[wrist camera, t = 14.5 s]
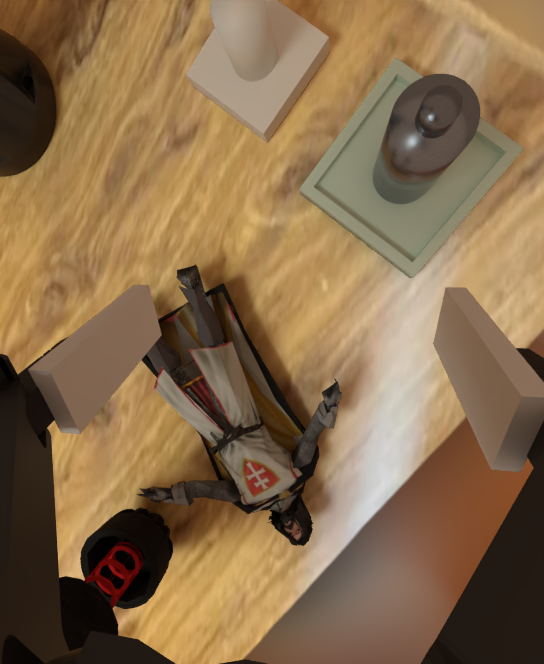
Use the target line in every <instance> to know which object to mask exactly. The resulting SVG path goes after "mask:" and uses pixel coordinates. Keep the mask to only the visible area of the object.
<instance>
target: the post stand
mask: <svg viewBox="0 0 544 664" xmlns="http://www.w3.org/2000/svg"><path fill="white" fill-rule="evenodd" d="M210 13H211V17H212V20H213V23H214V25H215V28H214V30H213V31H212V33H211V35H210V36H209V38H208V40H207V41H206V43H205V44H204V46H203V48H202V49H201V51H200V53H199V54H198V56H197V58H196V59H195V61H194V63H193V64H192V66H191V68H190V69H189V71H188V73H187V74H186V76H187V77H188V79H189V80H190V82H191V83H192V85H193V86H194V87H195V88H196V89H197V90H199V91H200V92H201V93H203V94H204V95H205V96H207V97H208V98H209V99H211V100H212V101H213V102H215V103H216V104H217V105H218V106H220V107H221V108H222V109H224V110H225V111H226V112H228V113H229V114H230V115H232V116H233V117H234V118H236V119H237V120H238V121H240V122H241V123H242V124H243V125H245V126H246V127H247V128H249V129H250V130H251V131H253V132H254V133H255V134H257V135H258V136H259V137H261V138H262V139H263V140H264V141H266V142H267V143H268V141H269V140H270V138H271V137H272V135H273V134H274V133H275V131H276V130H277V128H278V127H279V125H280V124H281V122H282V121H283V119H284V118H285V117H286V115H287V114H288V112H289V111H290V109H291V108H292V106H293V105H294V103H295V102H296V101H297V99H298V98H299V96H300V95H301V93H302V92H303V90H304V89H305V87H306V86H307V85H308V83H309V82H310V80H311V79H312V77H313V76H314V74H315V73H316V71H317V70H318V69H319V67H320V66H321V64H322V63H323V61H324V60H325V58H326V57H327V55H328V54H329V53H330V48H329V37H328V36H327V35H326V34H324V33H323V32H321V31H320V30H319V29H317V28H316V27H314V26H313V25H312V24H310V23H309V22H307V21H306V20H305V19H303V18H302V17H300V16H299V15H298V14H296V13H295V12H294V11H292V10H291V9H289V8H288V7H287V6H285V5H284V4H282V3H281V2H280V1H278V0H211V3H210Z"/></svg>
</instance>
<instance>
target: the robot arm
mask: <svg viewBox="0 0 544 664" xmlns="http://www.w3.org/2000/svg"><path fill="white" fill-rule="evenodd" d="M55 114H56V104H55V95H54V89H53V85H52V82H51V79H50V77H49V74H48V72H47V70H46V68H45V67H44V65H43V63H42V62H41V61H40V59H39V58H38V57H37V56H36V55H35V54H34V53H33V52H32V51H31V50H30V49H28V48H27V47H26V46H25V45H23V44H22V43H21V42H20V41H18V40H17V39H16V38H15V37H13V36H12V35H10V34H9V33H7V32H5V31H4V30H2V29H0V176H11V175H15V174H18V173H20V172H22V171H24V170H26V169H27V168H29V167H30V166H31V165H33V164H34V163H35V162H36V161H37V160H38V158H39V157H40V156H41V155H42V153H43V152H44V150H45V148H46V147H47V145H48V143H49V140H50V138H51V135H52V131H53V128H54V123H55ZM161 335H162V334H161V330H160V326H159V323H158V319H157V315H156V311H155V307H154V303H153V300H152V296H151V292H150V288H149V285H133V286H132V287H131V288H129V289H128V290H127V291H126V292H124V293H123V294H122V295H121V296H119V297H118V298H117V299H116V300H114V301H113V302H112V303H111V304H109V305H108V306H107V307H106V308H104V309H103V310H102V311H101V312H99V313H98V314H97V315H96V316H94V317H93V318H92V319H91V320H89V321H88V322H87V323H86V324H84V325H83V326H82V327H81V328H79V329H78V330H77V331H76V332H74V333H73V334H72V335H71V336H69V337H67V338H65V339H63V340H61V341H60V342H59V343H57V344H56V345H55V346H54V347H52V348H51V350H48V351H47V352H46V353H45V354H43V356H41V357H40V358H38V359H37V360H36V361H35V362H33V363H32V364H31V365H29V366H28V367H27V368H26V369H24V370H23V371H22V372H21V373H19V374H17V373H16V371H15V369H14V367H13V365H12V364H11V362H10V360H9V358H8V356H6V355H3V354H0V664H175V663H174V662H172V661H171V660H169V659H167V658H166V657H164V656H163V655H161V654H160V653H158V652H157V651H155V650H154V649H152V648H151V647H149V646H147V645H146V644H144V643H143V642H141V641H140V640H138V639H133V638H128V637H123V636H117V635H112V634H107V633H101V632H96V631H90V633H89V635H88V637H87V639H86V641H85V643H84V645H83V648H79V649H76V650H73V651H70V652H69V649H68V646H67V644H66V641H65V638H64V635H63V630H62V623H61V605H60V587H59V569H58V552H57V534H56V516H55V498H54V480H53V462H52V444H51V434H50V432H49V430H48V429H47V427H48V426H49V425H50V424H51V423H52V422H53V421H54V420H55V422H56V424H57V426H58V428H59V429H60V431H61V432H63V433H74V434H81V433H82V432H83V430H84V429H85V428H86V427H87V426H88V424H89V423H90V422H91V421H92V419H93V418H94V417H95V416H96V415H97V413H98V412H99V411H100V410H101V408H102V407H103V406H104V405H105V404H106V402H107V401H108V400H109V399H110V398H111V396H112V395H113V394H114V393H115V391H116V390H117V389H118V388H119V387H120V385H121V384H122V383H123V382H124V380H125V379H126V378H127V377H128V376H129V374H130V373H131V372H132V371H133V369H134V368H135V367H136V366H137V365H138V363H139V362H140V361H141V360H142V358H143V357H144V356H145V355H146V354H147V352H148V351H149V350H150V349H151V347H152V346H153V345H154V344H155V343H156V341H157V340H158V339H159V338H160V336H161ZM433 344H434V347H435V349H436V351H437V353H438V355H439V357H440V360H441V362H442V364H443V366H444V368H445V370H446V373H447V375H448V377H449V379H450V381H451V384H452V386H453V388H454V390H455V392H456V394H457V397H458V399H459V401H460V403H461V405H462V407H463V410H464V412H465V414H466V416H467V418H468V420H469V423H470V425H471V427H472V429H473V431H474V433H475V436H476V438H477V440H478V442H479V444H480V446H481V449H482V451H483V453H484V455H485V457H486V460H487V462H488V464H489V466H490V468H491V469H492V470H504V471H515V472H521V470H522V468H523V466H524V464H525V462H526V460H527V458H528V459H529V460H530V462H531V464H532V465H533V467H534V469H533V470H532V472H531V474H530V476H529V477H528V479H527V481H526V483H525V484H524V486H523V488H522V490H521V491H520V493H519V495H518V497H517V499H516V500H515V502H514V504H513V505H512V507H511V509H510V511H509V513H508V514H507V516H506V518H505V520H504V521H503V523H502V525H501V526H500V528H499V530H498V532H497V534H496V535H495V537H494V539H493V541H492V542H491V544H490V546H489V547H488V549H487V551H486V553H485V555H484V556H483V558H482V560H481V561H480V563H479V565H478V567H477V568H476V570H475V572H474V574H473V575H472V577H471V579H470V581H469V583H468V584H467V586H466V588H465V590H464V591H463V593H462V595H461V597H460V598H459V600H458V602H457V604H456V606H455V607H454V609H453V611H452V612H451V614H450V616H449V618H448V619H447V621H446V623H445V625H444V626H443V628H442V630H441V632H440V633H439V635H438V637H437V639H436V640H435V642H434V643H433V645H432V646H431V647H430V649H429V651H428V652H427V654H426V655H425V658H424V659H423V661H422V663H421V664H544V358H543V357H541V356H539V355H538V354H536V353H535V352H533V351H531V350H530V349H524V348H515V347H514V346H513V344H512V343H511V342H510V341H509V340H508V338H507V337H506V336H505V335H504V333H503V332H502V331H501V330H500V329H499V327H498V326H497V325H496V324H495V323H494V321H493V320H492V319H491V318H490V316H489V315H488V314H487V313H486V312H485V310H484V309H483V308H482V307H481V306H480V304H479V303H478V302H477V301H476V299H475V298H474V297H473V296H472V295H471V293H470V292H469V291H468V290H467V288H446V289H445V293H444V298H443V302H442V307H441V311H440V316H439V320H438V325H437V329H436V334H435V338H434V343H433ZM221 664H266V663H261V662H256V661H250V660H239V661H233V662H227V663H221Z"/></svg>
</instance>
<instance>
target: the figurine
mask: <svg viewBox="0 0 544 664" xmlns="http://www.w3.org/2000/svg"><path fill="white" fill-rule="evenodd" d="M177 278H178V279H179V280H180V281H181V283H182V284H183V285H185V286H186V287H187V288H188V289H186V288H183V287H180V286H179V287H180V289H181V291H182V292H183V294H184V295H185V297H186V298H187V300H188V301H189V302H188V303H186V304H184V305H183V306H181V307H179V308H178V309H176V310H174V311H172V312H171V313H169V314H167V315H165V316H164V317H162V318H160V319H158V323H159V326H160V330H161V334H162V335H161V336H160V338H159V339H158V340H157V341H156V343H155V344H154V345H153V346H152V347H151V349H150V350H149V351H148V352H147V354H146V355H145V356H144V357H143V358H142V361H143V362H144V363H145V364H146V366H147V367H148V368H149V369H150V370H151V371H152V372H153V374H154V375H155V376H156V377H157V380H156V383H155V386H154V389H155V390H156V391H157V392H158V393H159V394H160V395H161V396H162V397H163V398H164V399H165V400H166V401H167V402H168V403H169V404H170V405H171V406H172V407H173V408H174V409H175V410H176V411H177V412H178V413H179V414H180V415H181V416H182V417H183V418H184V419H185V420H186V421H187V422H188V423H189V424H190V425H191V426H193V427H194V428H195V429H196V430H197V432H198V433H199V435H200V436H201V438H202V440H203V443H204V445H205V448H206V450H207V453H208V455H209V458H210V460H211V463H212V465H213V468H214V470H215V472H216V475H217V477H218V480H219V481H189V482H187V483H186V482H185V481H183V482H181V481H180V482H179V483H178V484H175V485H172V486H171V488H158V487H151V488H148V489H140V488H139V489H140V490H141V491H142V492H143V493H144V494H137V495H139V496H143V497H147V498H151V501H152V502H155V503H158V504H159V503H160V502H161V500H163V501H164V503H172V504H179V505H186V506H190V505H191V504H192V503H193V502H194V500H193V498H199V497H206V498H211V499H217V500H222V501H227V502H232V503H233V504H235V505H236V506H237V507H239V508H240V509H241V510H243V511H244V512H246V513H247V514H250V513H251V512H253V513H254V512H257V511H261V510H269V509H271V510H269V511H272V514H271V515H272V516H270V517H269V520H270V519H271V520H272V521H271V522H272V523H271V524H272V525H274V526H275V529H276V530H278V531H279V532H280V533H281V534H283V535H284V536H285V537H287V538H288V539H289V541H290V542H291V544H292V545H296V546H297V544H298V545H302V546H304V545H305V544H306V543H307V542H308V541H309V538H310V535H311V533H312V530H313V529H312V524H313V523H312V520H311V516H310V514H309V512H308V510H307V508H306V506H305V504H304V502H303V500H302V497H301V493H303V490H304V486H305V482H306V481H307V480H308V479H309V478H310V477H311V476H313V473H314V470H315V467H316V464H317V461H318V458H319V447H318V445H317V442H318V438H319V436H320V434H321V432H322V431H323V429H324V428H325V426H326V427H327V428H333V429H334V425H335V421H336V416H337V415H336V414H337V408H338V406H337V405H338V403H339V400H340V399H341V392H340V391H339V385H338V382H337V381H336V379H335V378H334V379H335V381H336V383H334V384H333V385H332V386H330V387H329V388H327V389H326V390H325V391H323V392H322V395H323V397H324V400H325V401H322V402H321V404H319V406H318V408H317V410H316V412H315V414H314V416H313V417H312V419H311V421H310V423H309V425H308V427H307V429H305V428H304V427H303V425H302V424H301V423H300V421H299V420H298V419H297V417H296V416H295V415H294V413H293V412H292V410H291V408H290V407H289V405H288V403H287V402H286V400H285V398H284V396H283V395H282V393H281V391H280V390H279V388H278V386H277V385H276V383H275V381H274V379H273V378H272V376H271V374H270V373H269V371H268V369H267V367H266V366H265V364H264V362H263V361H262V359H261V357H260V355H259V354H258V352H257V350H256V349H255V347H254V345H253V344H252V342H251V340H250V338H249V337H248V335H247V333H246V332H245V330H244V327H243V325H242V323H241V321H240V319H239V316H238V314H237V312H236V310H235V307H234V305H233V303H232V301H231V299H230V296H229V294H228V292H227V290H226V288H225V285H224V283H223V284H221V285H219V286H217V287H215V288H213V289H211V290H209V291H208V292H206V293H205V291H204V288H203V284H202V281H201V278H200V274H199V271H198V267H197V266H196V265H194V266H191V267H188V268H184V269H180V270H177ZM245 339H246V340H245ZM246 341H247V342H246ZM247 343H248V344H247ZM248 345H249V346H248ZM267 523H269V522H267Z"/></svg>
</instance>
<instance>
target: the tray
mask: <svg viewBox="0 0 544 664" xmlns="http://www.w3.org/2000/svg"><path fill="white" fill-rule="evenodd" d="M420 78H423V76H422V75H420V74H419V73H418V72H416V71H415V70H413V69H412V68H410V67H409V66H408V65H406V64H405V63H403V62H402V61H401V60H399V59H398V58H396V57H395V59H394V60H393V62H392V63H391V64H390V66H389V67H388V68H387V70H386V71H385V73H384V74H383V75H382V77H381V78H380V79H379V81H378V82H377V83H376V85H375V86H374V88H373V89H372V90H371V92H370V93H369V94H368V96H367V97H366V99H365V100H364V101H363V103H362V104H361V105H360V107H359V108H358V109H357V111H356V112H355V114H354V115H353V116H352V118H351V119H350V120H349V122H348V123H347V125H346V126H345V127H344V129H343V130H342V131H341V133H340V134H339V136H338V137H337V138H336V140H335V141H334V142H333V144H332V145H331V146H330V148H329V149H328V151H327V152H326V153H325V155H324V156H323V157H322V159H321V160H320V162H319V163H318V164H317V166H316V167H315V168H314V170H313V171H312V172H311V174H310V175H309V177H308V178H307V179H306V181H305V182H304V183H303V185H302V186H301V188H300V189H299V190H300V193H301V195H303V196H304V197H305V198H306V199H308V200H309V201H310V202H312V203H313V204H314V205H316V206H317V207H318V208H319V209H321V210H322V211H323V212H325V213H326V214H327V215H329V216H330V217H331V218H333V219H334V220H335V221H336V222H338V223H339V224H340V225H342V226H343V227H344V228H346V229H347V230H348V231H349V232H351V233H352V234H353V235H355V236H356V237H357V238H359V239H360V240H361V241H362V242H364V243H365V244H366V245H368V246H369V247H370V248H372V249H373V250H374V251H375V252H377V253H378V254H379V255H381V256H382V257H383V258H385V259H386V260H387V261H388V262H390V263H391V264H392V265H394V266H395V267H396V268H398V269H399V270H400V271H402V272H403V273H404V274H405V275H407V276H408V277H409V278H413V277H414V276H415V275H416V274H417V273H418V272H419V270H420V269H421V268H422V267H423V266H424V265H425V263H426V262H427V261H428V260H429V259H430V258H431V257H432V255H433V254H434V253H435V252H436V251H437V250H438V248H439V247H440V246H441V245H442V244H443V243H444V241H445V240H446V239H447V238H448V237H449V236H450V234H451V233H452V232H453V231H454V230H455V229H456V227H457V226H458V225H459V224H460V223H461V222H462V220H463V219H464V218H465V217H466V216H467V215H468V214H469V212H470V211H471V210H472V209H473V208H474V207H475V205H476V204H477V203H478V202H479V201H480V200H481V198H482V197H483V196H484V195H485V194H486V193H487V191H488V190H489V189H490V188H491V187H492V186H493V184H494V183H495V182H496V181H497V180H498V179H499V177H500V176H501V175H502V174H503V173H504V172H505V171H506V169H507V168H508V167H509V166H510V165H511V164H512V162H513V161H514V160H515V159H516V158H517V157H518V155H519V154H520V153H521V152H522V151H523V150H524V148H523V147H522V146H520V145H519V144H517V143H516V142H515V141H513V140H512V139H510V138H509V137H508V136H506V135H505V134H503V133H502V132H501V131H499V130H498V129H496V128H495V127H494V126H492V125H491V124H489V123H488V122H487V121H485V120H484V119H482V118H481V117H480V120H479V125H478V128H477V131H476V133H475V135H474V137H473V139H472V140H471V142H470V143H469V144H468V145H467V147H466V148H465V149H464V150H463V151H462V152H461V153H460V155H459V156H458V157H457V158H456V159H455V160H454V161H453V162H452V164H451V165H450V166H449V167H448V168H447V169H446V170H445V171H444V173H443V174H442V175H441V176H440V177H439V178H438V179H437V181H436V182H435V183H434V184H433V185H432V186H431V187H430V188H429V190H428V191H427V192H426V193H425V194H424V195H423V196H422V197H420V198H419V199H417V200H415V201H413V202H411V203H407V204H394V203H391V202H388V201H386V200H385V199H383V198H382V197H381V196H380V195H379V194H378V192H377V191H376V189H375V187H374V184H373V169H374V165H375V162H376V159H377V156H378V153H379V150H380V147H381V143H382V140H383V137H384V134H385V131H386V128H387V124H388V121H389V118H390V115H391V112H392V109H393V106H394V104H395V102H396V100H397V99H398V97H399V96H400V94H401V93H402V92H403V91H404V90H405V89H406V88H407V87H408V86H409V85H411V84H412V83H413V82H415V81H417V80H418V79H420Z"/></svg>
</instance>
